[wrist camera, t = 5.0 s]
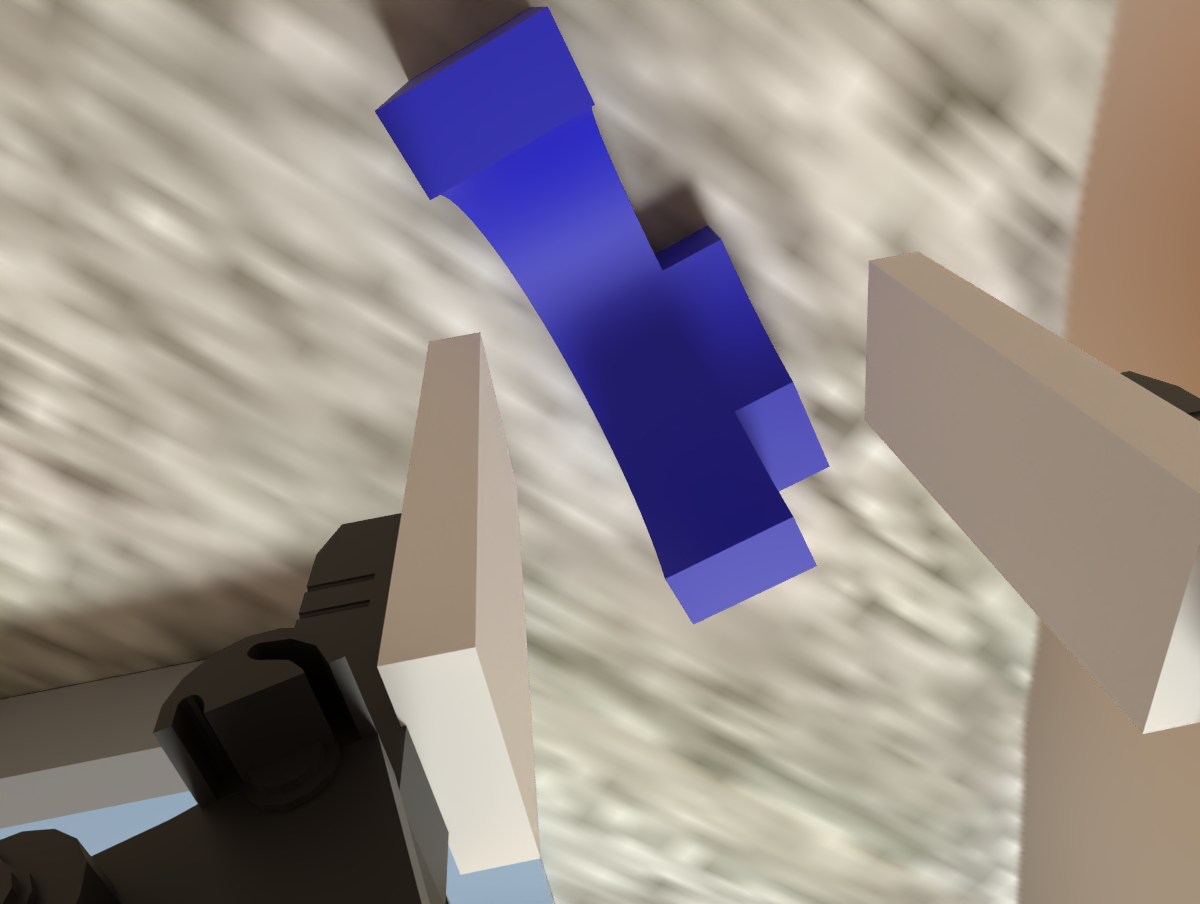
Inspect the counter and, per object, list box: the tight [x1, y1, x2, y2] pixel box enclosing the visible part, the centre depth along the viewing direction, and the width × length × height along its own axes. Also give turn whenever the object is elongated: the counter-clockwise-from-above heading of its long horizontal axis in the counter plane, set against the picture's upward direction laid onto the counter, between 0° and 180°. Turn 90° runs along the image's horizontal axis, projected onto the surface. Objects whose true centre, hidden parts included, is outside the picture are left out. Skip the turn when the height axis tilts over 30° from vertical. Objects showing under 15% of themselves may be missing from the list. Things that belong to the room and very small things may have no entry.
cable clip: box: [375, 7, 830, 624], centre depth 17 cm, size 12×4×6 cm, turn 27°
